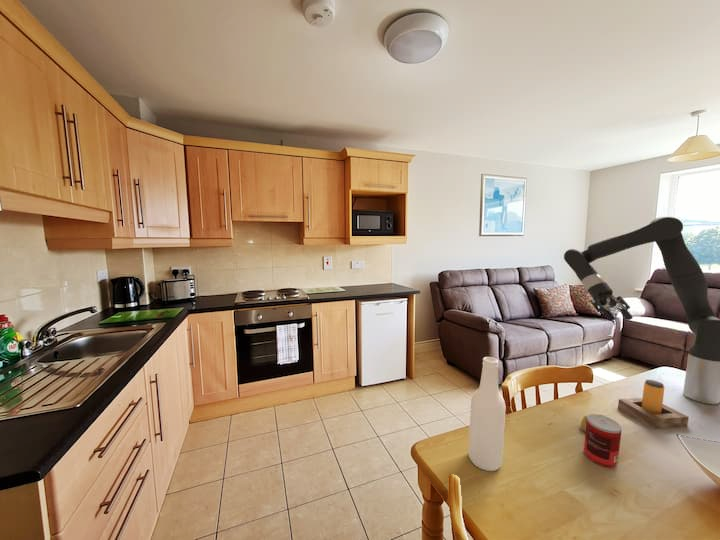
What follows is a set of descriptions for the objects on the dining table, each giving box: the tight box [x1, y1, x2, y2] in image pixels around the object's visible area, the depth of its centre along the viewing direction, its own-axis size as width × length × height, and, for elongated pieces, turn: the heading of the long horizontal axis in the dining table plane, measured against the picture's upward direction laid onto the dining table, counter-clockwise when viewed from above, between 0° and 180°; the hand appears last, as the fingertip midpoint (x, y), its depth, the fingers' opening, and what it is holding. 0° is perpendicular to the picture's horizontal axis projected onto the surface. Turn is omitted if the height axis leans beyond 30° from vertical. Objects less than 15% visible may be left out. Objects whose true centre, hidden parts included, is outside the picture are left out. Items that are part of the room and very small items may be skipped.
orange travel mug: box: [641, 379, 666, 414], centre depth 103 cm, size 5×5×13 cm
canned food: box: [583, 413, 622, 468], centre depth 83 cm, size 8×8×11 cm
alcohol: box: [467, 356, 507, 472], centre depth 81 cm, size 9×9×30 cm
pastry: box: [579, 415, 588, 432], centre depth 94 cm, size 9×7×4 cm
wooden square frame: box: [617, 397, 689, 430], centre depth 103 cm, size 13×12×4 cm
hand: (621, 319), depth 117 cm, fingers open, 8 cm apart
